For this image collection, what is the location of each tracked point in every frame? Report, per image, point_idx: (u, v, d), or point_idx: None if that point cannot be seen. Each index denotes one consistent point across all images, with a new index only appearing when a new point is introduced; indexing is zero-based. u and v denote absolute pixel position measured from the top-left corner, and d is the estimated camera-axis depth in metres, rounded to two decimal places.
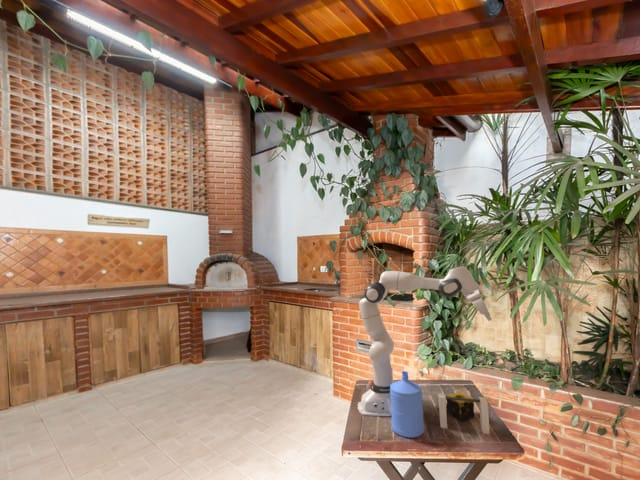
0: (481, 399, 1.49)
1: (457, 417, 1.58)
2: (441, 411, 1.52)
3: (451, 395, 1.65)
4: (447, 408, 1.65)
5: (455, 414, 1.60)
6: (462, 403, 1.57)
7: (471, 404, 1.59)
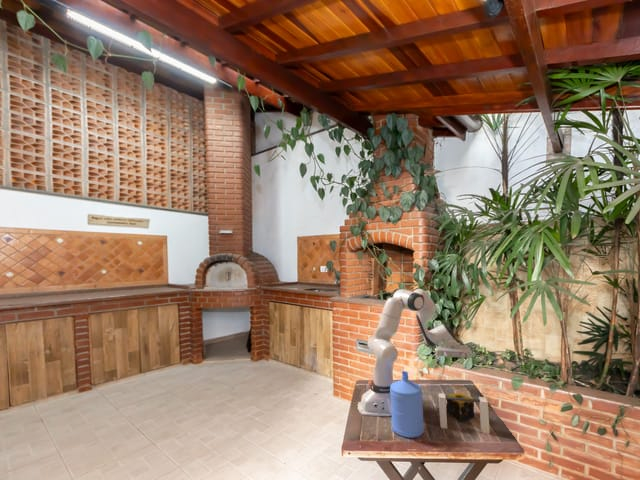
0: (481, 399, 1.49)
1: (457, 417, 1.58)
2: (441, 411, 1.52)
3: (451, 395, 1.65)
4: (447, 408, 1.65)
5: (455, 414, 1.60)
6: (462, 403, 1.57)
7: (471, 404, 1.59)
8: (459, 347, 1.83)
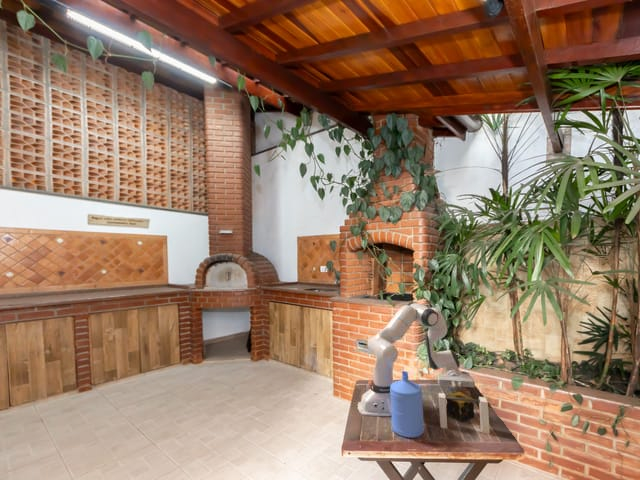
0: (481, 399, 1.49)
1: (457, 417, 1.58)
2: (441, 411, 1.52)
3: (451, 395, 1.65)
4: (447, 408, 1.65)
5: (455, 414, 1.60)
6: (462, 403, 1.57)
7: (471, 404, 1.59)
8: (461, 375, 1.82)
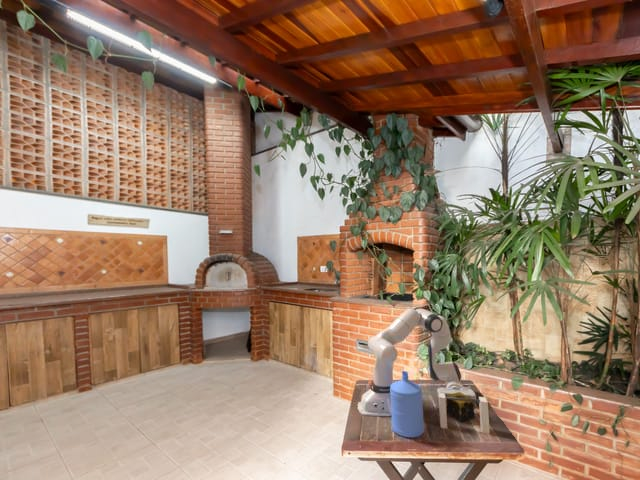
0: (481, 399, 1.49)
1: (457, 417, 1.58)
2: (441, 411, 1.52)
3: (451, 396, 1.64)
4: (447, 408, 1.64)
5: (455, 414, 1.59)
6: (462, 403, 1.57)
7: (471, 404, 1.59)
8: (462, 389, 1.78)
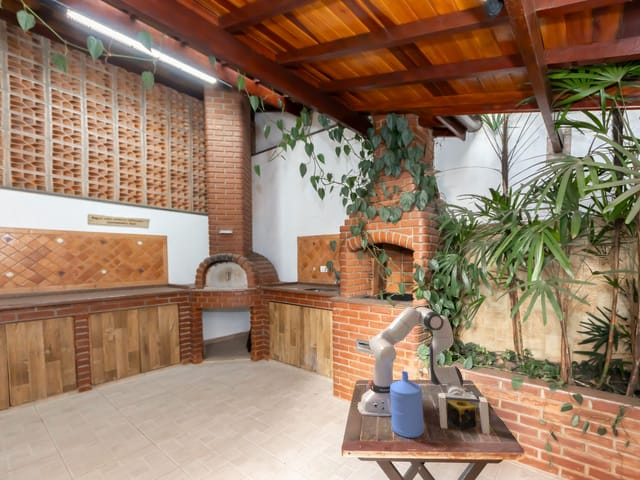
0: (481, 399, 1.49)
1: (457, 424, 1.51)
2: (441, 411, 1.52)
3: (452, 401, 1.58)
4: (448, 414, 1.58)
5: (455, 421, 1.53)
6: (462, 410, 1.50)
7: (473, 412, 1.52)
8: (464, 395, 1.71)
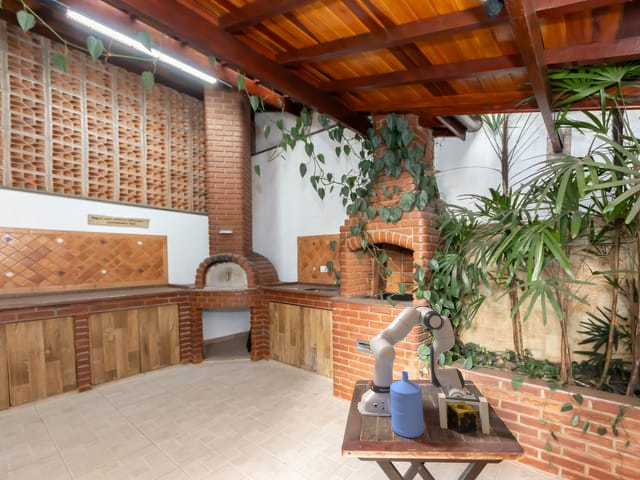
0: (481, 399, 1.49)
1: (456, 428, 1.49)
2: (441, 411, 1.52)
3: (452, 404, 1.55)
4: (448, 417, 1.55)
5: (455, 424, 1.50)
6: (462, 413, 1.47)
7: (473, 415, 1.48)
8: (465, 397, 1.67)
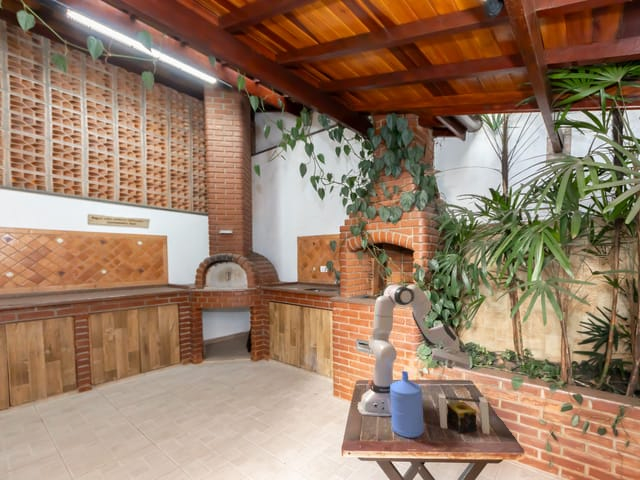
0: (481, 399, 1.49)
1: (456, 428, 1.49)
2: (441, 411, 1.52)
3: (452, 404, 1.55)
4: (448, 418, 1.55)
5: (455, 425, 1.50)
6: (462, 414, 1.47)
7: (473, 416, 1.48)
8: (458, 354, 1.73)
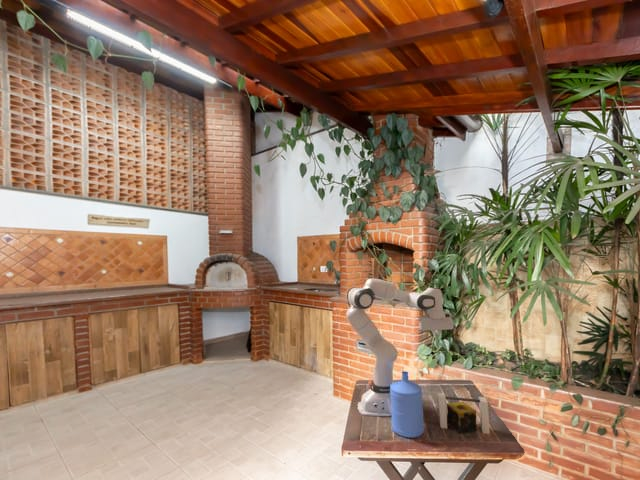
0: (481, 399, 1.49)
1: (456, 428, 1.49)
2: (441, 411, 1.52)
3: (452, 404, 1.55)
4: (448, 418, 1.55)
5: (455, 425, 1.50)
6: (462, 414, 1.47)
7: (473, 416, 1.48)
8: (443, 319, 1.80)
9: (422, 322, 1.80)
